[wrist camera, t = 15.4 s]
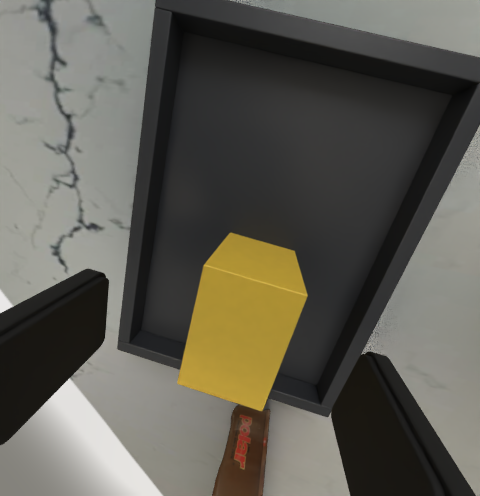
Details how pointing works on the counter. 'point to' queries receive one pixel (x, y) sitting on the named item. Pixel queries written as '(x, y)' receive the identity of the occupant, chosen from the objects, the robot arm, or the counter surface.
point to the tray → (288, 173)
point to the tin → (244, 454)
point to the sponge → (242, 320)
